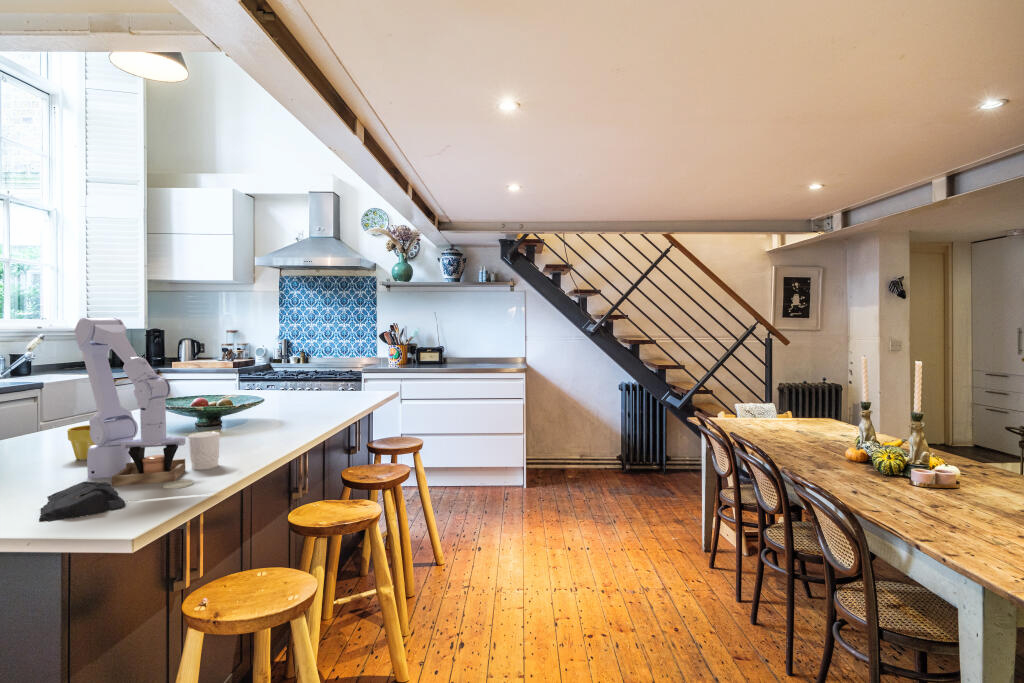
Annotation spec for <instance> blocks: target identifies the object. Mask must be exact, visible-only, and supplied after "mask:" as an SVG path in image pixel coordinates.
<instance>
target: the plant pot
mask: <svg viewBox="0 0 1024 683" xmlns="http://www.w3.org/2000/svg"><path fill="white" fill-rule="evenodd" d="M66 431H67V440H68V441H70V443H71V446H72V450H73V453H74V456H75V459H87V453H88V450H89V448H90V446H92V445H96V444H95V443H94V442H93V441H92V440H91V437H90V424H88V425H87V424H86V425H80V426H74V427H73V426H72V427H70V428H68V429H67V430H66Z"/></svg>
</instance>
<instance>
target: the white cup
mask: <svg viewBox="0 0 1024 683" xmlns="http://www.w3.org/2000/svg"><path fill="white" fill-rule="evenodd" d="M220 434H221V433H220V432H218V431H203V432H202V431H201V432H196V433H192V434H191V433H190V434H189V435H188V445H189V457H190V458H189V459H190V464H191V465H190V466H191V469H192V470H197V471H199V470H200V471H201V470H208V469H213V468H216V467H218V466H219V457H220V436H221V435H220Z"/></svg>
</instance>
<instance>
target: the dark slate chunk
mask: <svg viewBox="0 0 1024 683" xmlns="http://www.w3.org/2000/svg"><path fill="white" fill-rule="evenodd" d="M46 498H47V503H46V504H44V505H43V507H41V509H40V513H39V514H41V515H39V519H38V522H39V523H41V522H48V523H51V522H56V521H61V520H67V519H75V517H77V518H81V517H80V516H83V517H87V516H86V515H88V516H93V515H98V513H99V514H102V513H106V512H110V510H111V511H114V510H118V508H119V509H123V508H125V507H126V501H125V500H124V499H123V498H122V497H121V496H119V493H118V492H117V490H115V488H114V487H113V486H112V484H110V483H109V482H106V481H101V482H100V481H99V482H98V481H95V482H94V481H82V482H79V483H77V484H73V485H71V486H69V487H68V488H67V487H66V488H65V489H63V490H59V491H57V492H55V493H53V494H51V495H48V496H46ZM122 507H123V508H122ZM92 514H93V515H92ZM66 518H67V519H66Z"/></svg>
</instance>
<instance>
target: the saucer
mask: <svg viewBox="0 0 1024 683" xmlns="http://www.w3.org/2000/svg"><path fill="white" fill-rule="evenodd" d="M193 484H194V481H193V480H191V479H179V480H178V479H177V480H175V481H172V482H165V483H164V484H162V488H163V489H165V490H175V489H176V490H177V489H183V488H188V487H190V486H193Z"/></svg>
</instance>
